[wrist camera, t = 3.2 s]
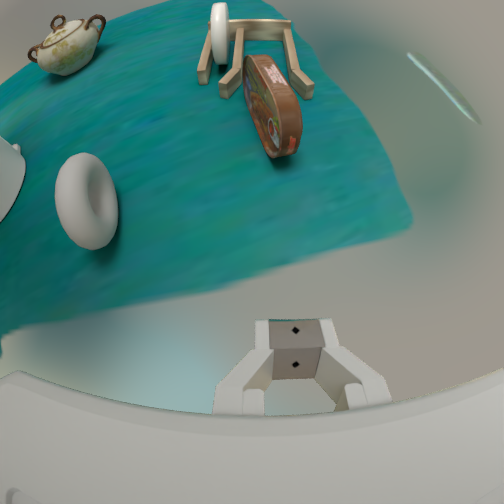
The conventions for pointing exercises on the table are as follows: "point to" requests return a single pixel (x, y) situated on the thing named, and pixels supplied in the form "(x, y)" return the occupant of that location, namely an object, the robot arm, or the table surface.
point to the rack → (239, 33)
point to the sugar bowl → (68, 45)
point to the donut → (86, 201)
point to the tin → (272, 105)
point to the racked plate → (220, 33)
